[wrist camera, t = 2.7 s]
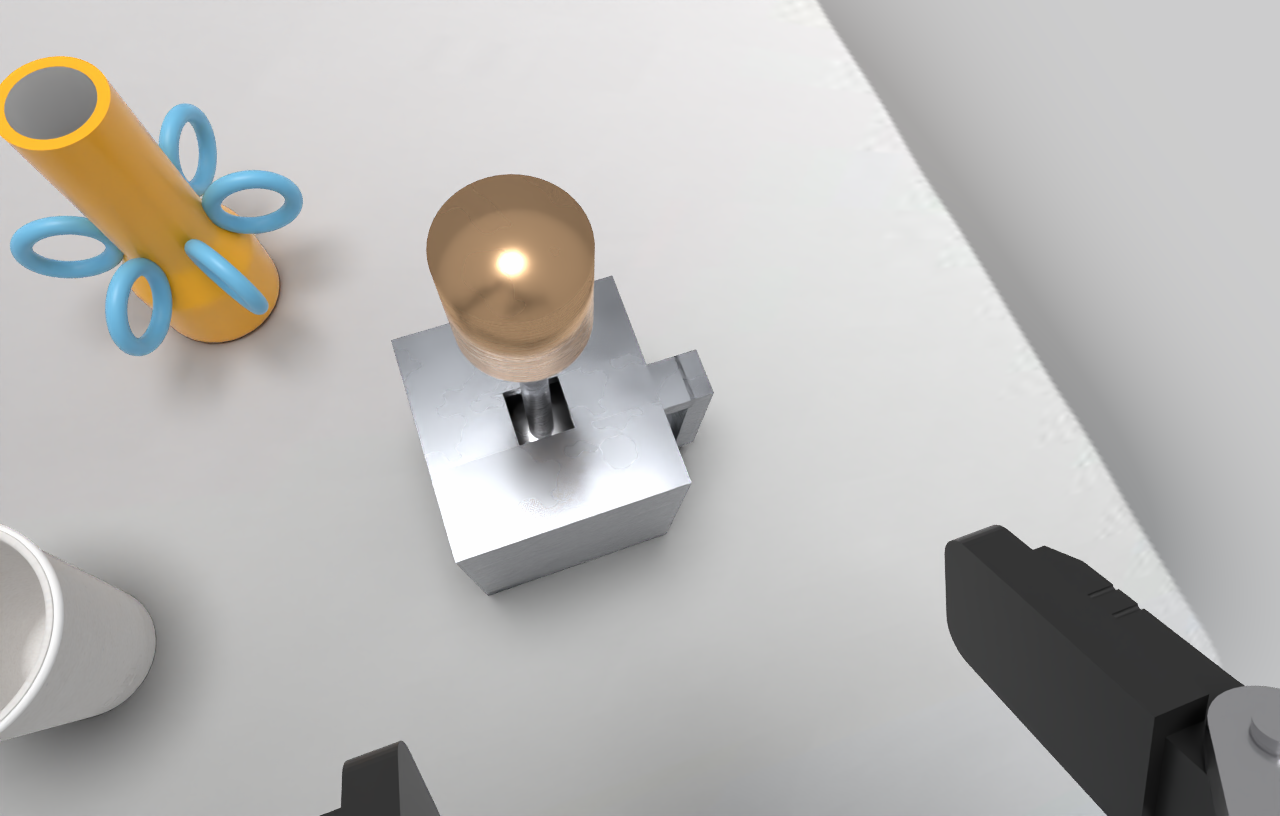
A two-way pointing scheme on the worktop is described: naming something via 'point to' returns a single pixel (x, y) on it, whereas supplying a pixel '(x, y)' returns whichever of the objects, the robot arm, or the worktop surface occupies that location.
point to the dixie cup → (64, 640)
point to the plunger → (517, 289)
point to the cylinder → (142, 207)
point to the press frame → (554, 450)
